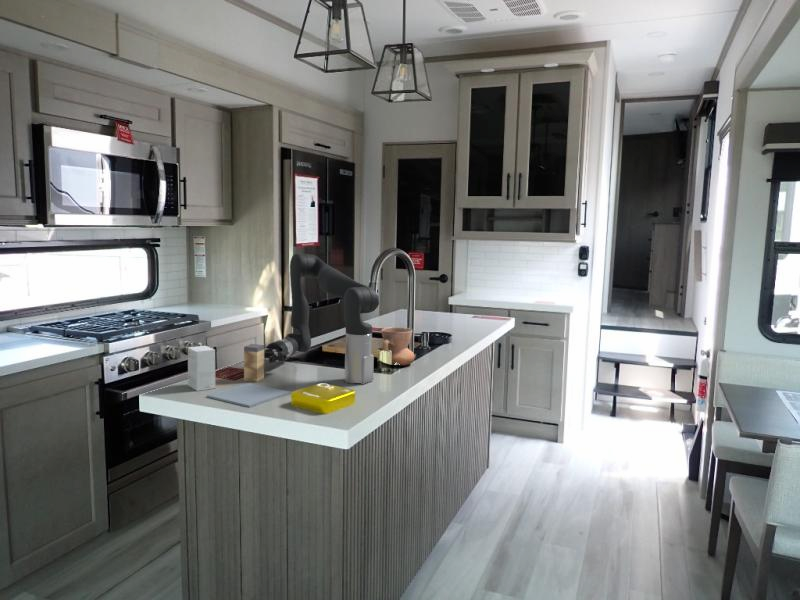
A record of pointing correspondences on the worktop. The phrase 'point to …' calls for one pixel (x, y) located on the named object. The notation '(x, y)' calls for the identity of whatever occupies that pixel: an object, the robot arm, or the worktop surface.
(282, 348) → the robot arm
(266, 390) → the grey mat
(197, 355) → the small box
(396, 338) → the ceramic jug
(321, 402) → the element tile
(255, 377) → the wood block
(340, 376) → the worktop surface
